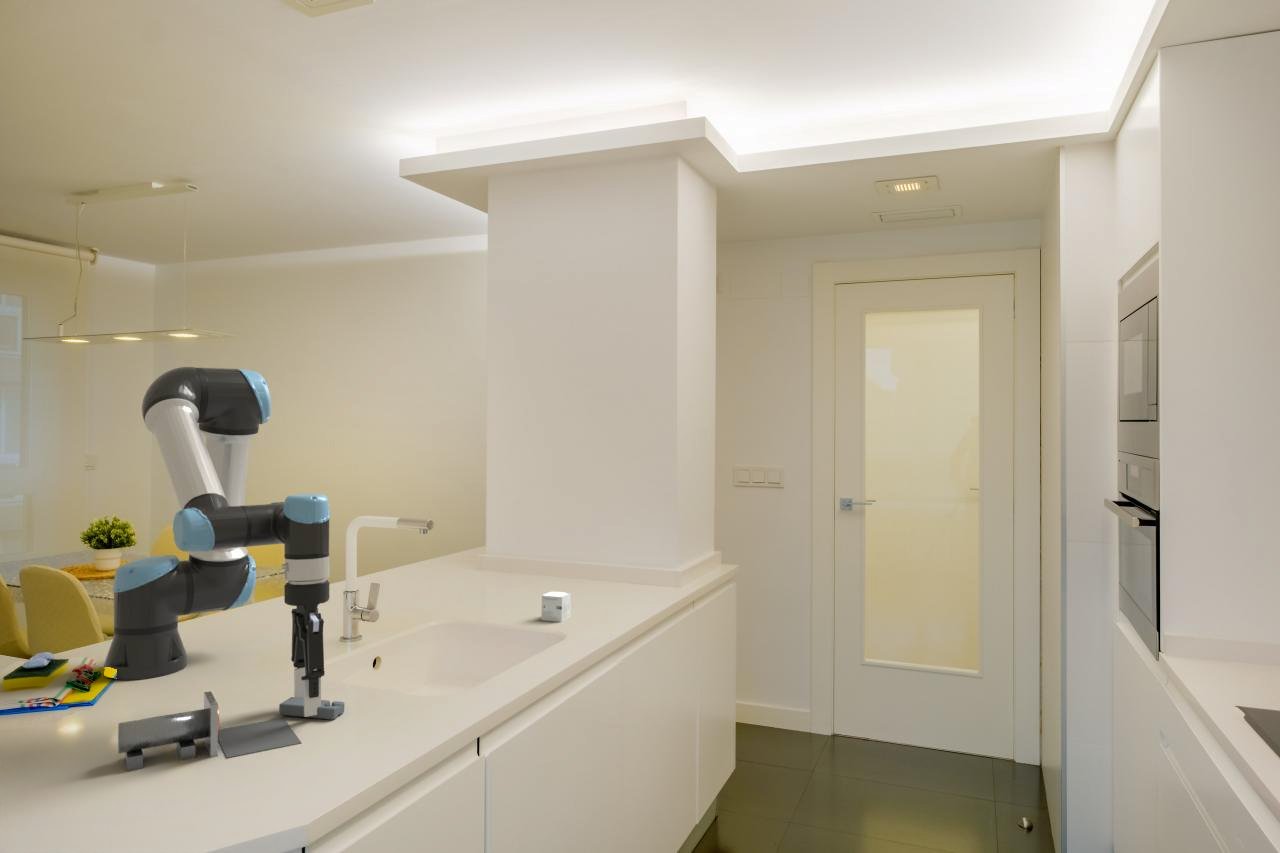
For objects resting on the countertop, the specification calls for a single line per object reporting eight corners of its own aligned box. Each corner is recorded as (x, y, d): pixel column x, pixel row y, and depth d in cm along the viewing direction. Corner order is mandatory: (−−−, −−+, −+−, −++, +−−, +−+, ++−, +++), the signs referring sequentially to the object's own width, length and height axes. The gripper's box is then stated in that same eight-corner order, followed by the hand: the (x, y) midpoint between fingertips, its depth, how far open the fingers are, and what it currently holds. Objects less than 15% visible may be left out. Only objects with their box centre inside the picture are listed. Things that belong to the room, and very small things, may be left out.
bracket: (290, 707, 151) (290, 696, 151) (344, 712, 150) (345, 701, 149) (278, 715, 147) (278, 703, 147) (333, 720, 146) (334, 709, 146)
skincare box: (540, 622, 221) (541, 594, 221) (550, 617, 226) (550, 590, 226) (561, 624, 219) (562, 596, 219) (571, 619, 224) (571, 592, 224)
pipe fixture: (117, 757, 129) (117, 705, 129) (213, 739, 137) (213, 690, 137) (119, 775, 123) (119, 720, 123) (220, 755, 130) (220, 704, 130)
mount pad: (214, 731, 141) (214, 730, 141) (283, 718, 147) (283, 717, 147) (226, 758, 129) (226, 757, 129) (301, 743, 135) (301, 742, 135)
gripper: (273, 575, 156) (274, 699, 155) (297, 590, 139) (297, 729, 139) (315, 571, 160) (316, 692, 159) (343, 586, 143) (343, 720, 143)
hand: (307, 709), depth 149 cm, fingers open, 7 cm apart
